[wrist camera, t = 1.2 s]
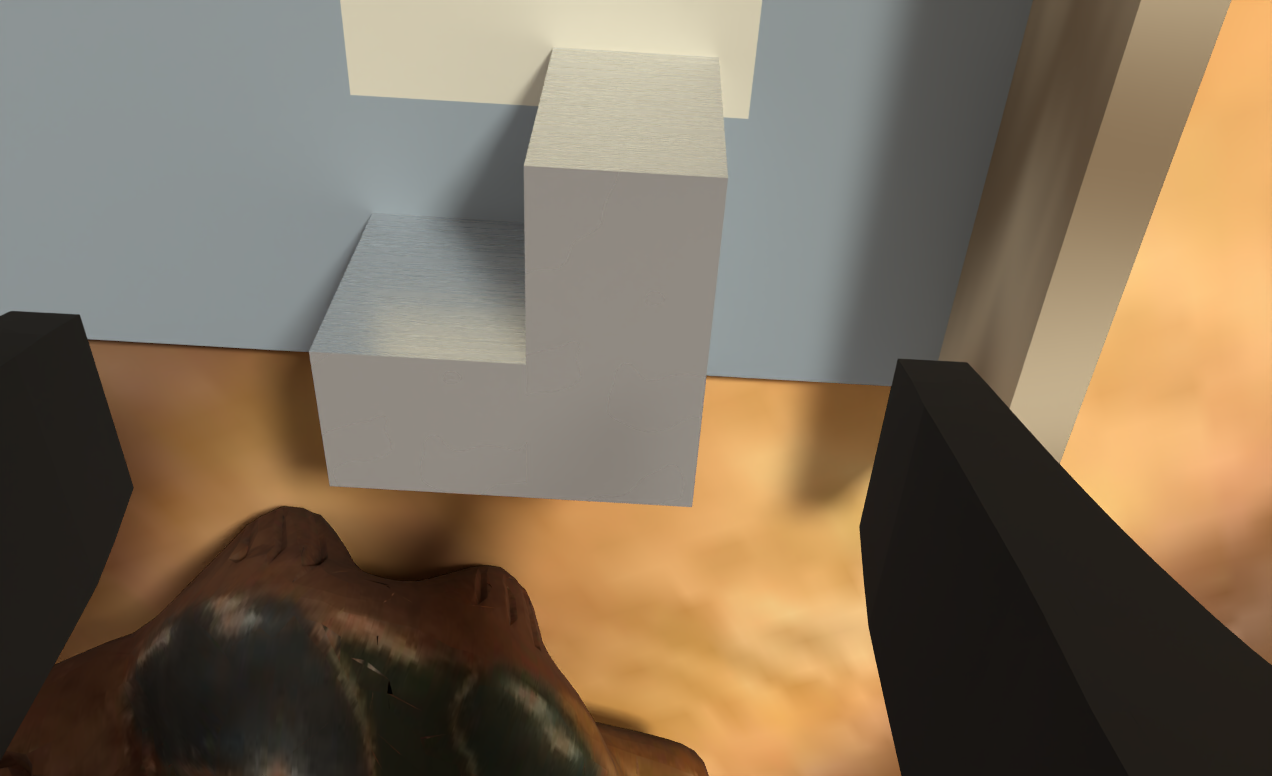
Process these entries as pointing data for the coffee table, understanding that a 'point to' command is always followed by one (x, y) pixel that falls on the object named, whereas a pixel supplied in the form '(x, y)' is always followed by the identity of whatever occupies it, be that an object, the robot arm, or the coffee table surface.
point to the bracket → (545, 307)
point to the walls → (1073, 195)
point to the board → (485, 157)
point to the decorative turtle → (327, 679)
